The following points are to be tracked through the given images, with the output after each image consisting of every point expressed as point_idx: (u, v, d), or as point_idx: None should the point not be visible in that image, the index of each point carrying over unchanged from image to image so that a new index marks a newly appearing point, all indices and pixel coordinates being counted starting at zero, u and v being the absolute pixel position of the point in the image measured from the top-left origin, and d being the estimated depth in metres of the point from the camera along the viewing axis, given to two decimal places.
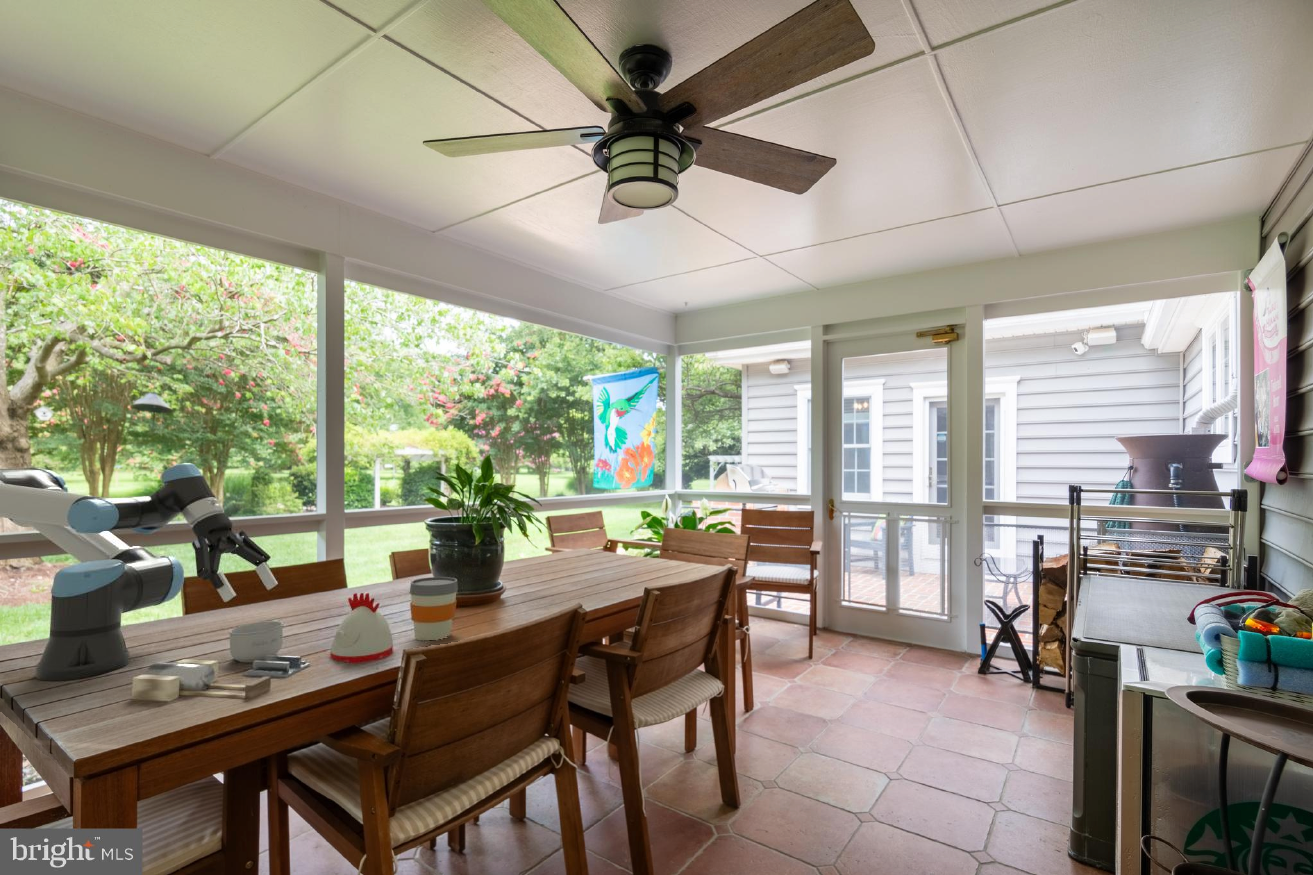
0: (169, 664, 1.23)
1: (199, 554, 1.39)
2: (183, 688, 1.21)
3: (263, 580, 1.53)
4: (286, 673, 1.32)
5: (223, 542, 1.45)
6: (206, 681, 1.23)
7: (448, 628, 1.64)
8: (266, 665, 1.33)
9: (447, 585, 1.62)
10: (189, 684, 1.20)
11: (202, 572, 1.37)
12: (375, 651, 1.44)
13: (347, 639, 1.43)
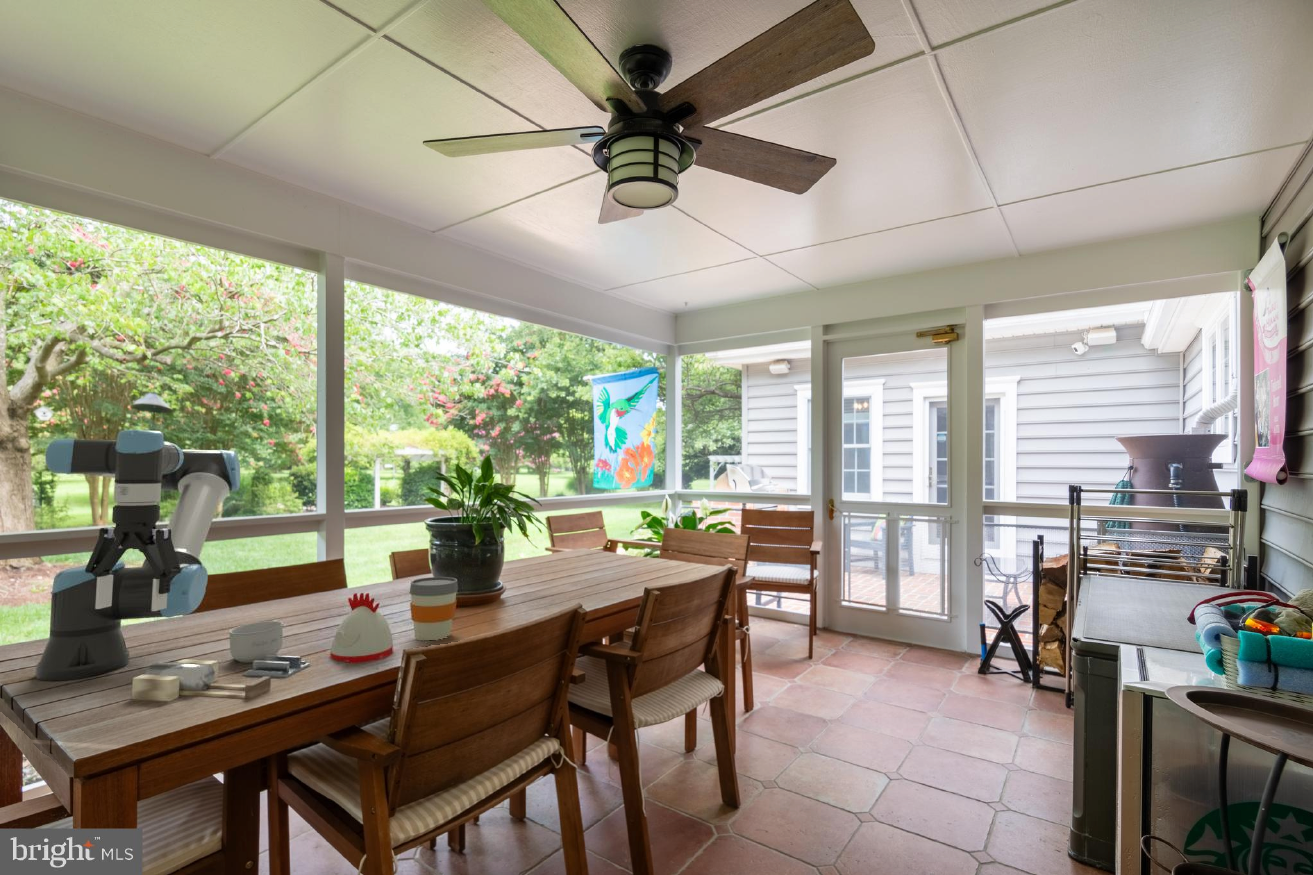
0: (169, 664, 1.23)
1: None
2: (183, 688, 1.21)
3: None
4: (286, 673, 1.32)
5: (118, 540, 1.24)
6: (206, 681, 1.23)
7: (448, 628, 1.64)
8: (266, 665, 1.33)
9: (447, 585, 1.62)
10: (190, 684, 1.20)
11: None
12: (375, 651, 1.44)
13: (347, 639, 1.43)
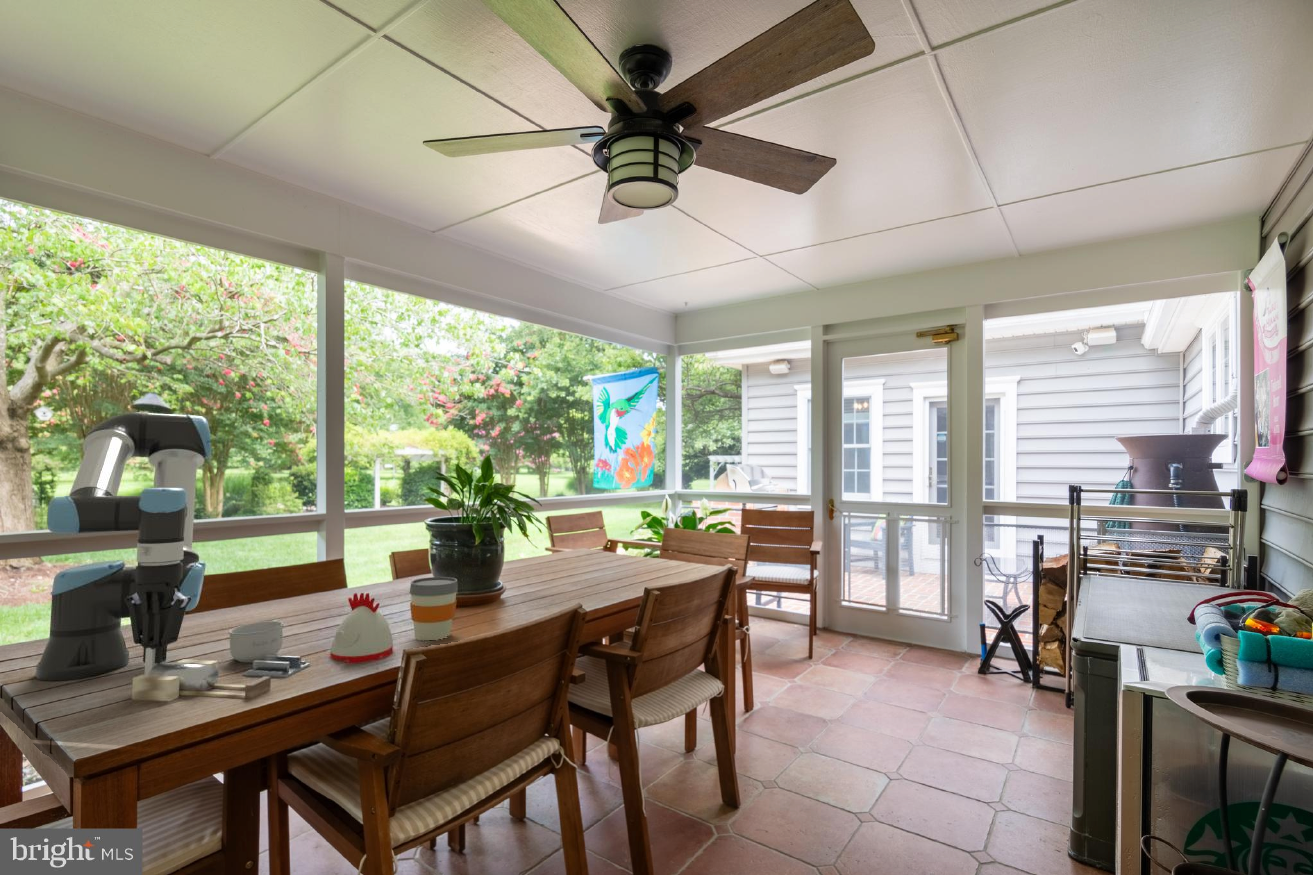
0: (173, 664, 1.23)
1: None
2: (187, 688, 1.21)
3: None
4: (286, 673, 1.32)
5: (145, 601, 1.22)
6: (210, 681, 1.23)
7: (448, 628, 1.64)
8: (266, 665, 1.33)
9: (447, 585, 1.62)
10: (193, 684, 1.20)
11: None
12: (375, 651, 1.44)
13: (347, 639, 1.43)
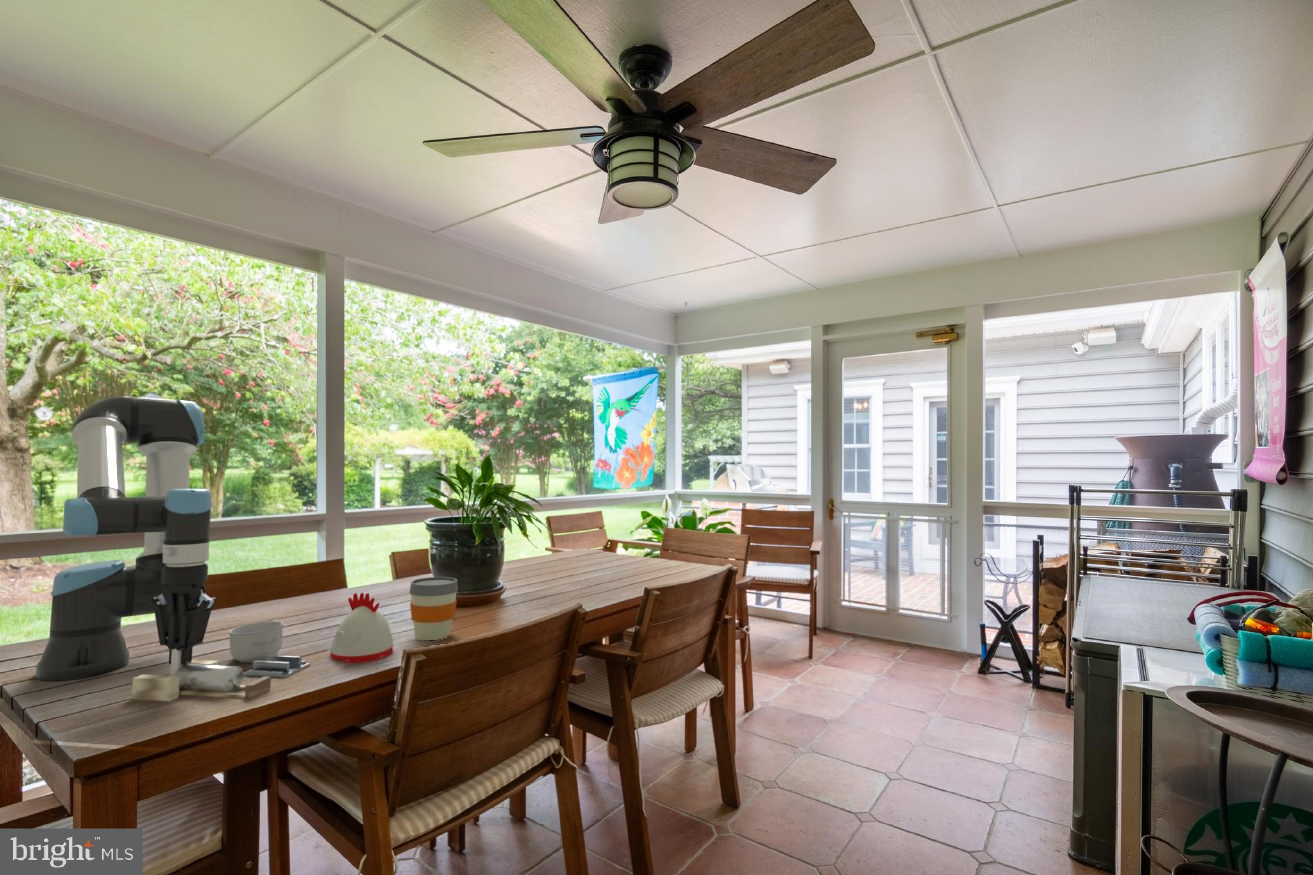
0: (199, 665, 1.23)
1: None
2: (212, 689, 1.20)
3: None
4: (286, 673, 1.32)
5: (171, 603, 1.22)
6: (235, 683, 1.22)
7: (448, 628, 1.64)
8: (266, 665, 1.33)
9: (447, 585, 1.62)
10: (219, 685, 1.20)
11: None
12: (375, 651, 1.44)
13: (347, 639, 1.43)
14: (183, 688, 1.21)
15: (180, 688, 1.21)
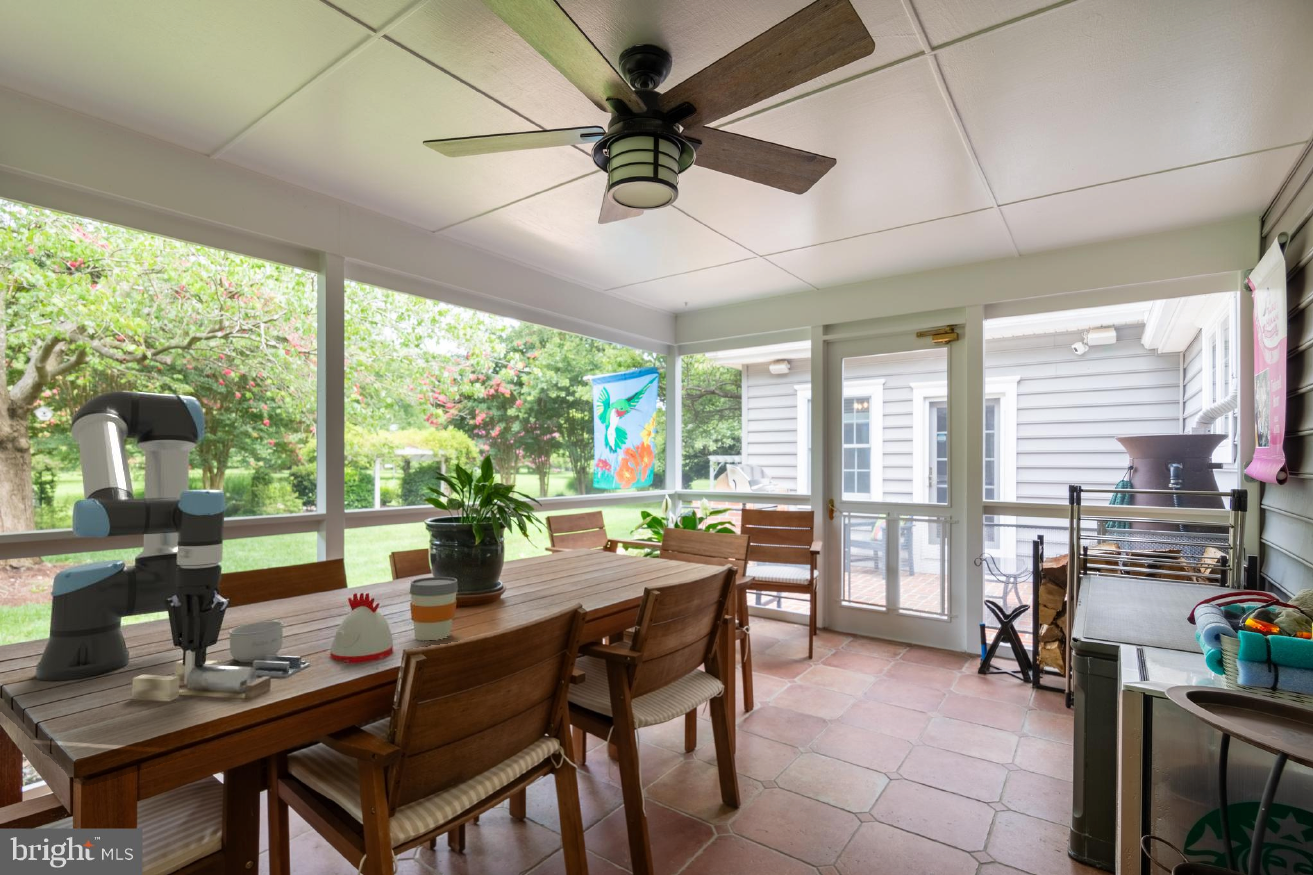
0: (213, 666, 1.23)
1: None
2: (226, 689, 1.20)
3: None
4: (286, 673, 1.32)
5: (185, 604, 1.22)
6: None
7: (448, 628, 1.64)
8: (266, 665, 1.33)
9: (447, 585, 1.62)
10: (233, 685, 1.19)
11: None
12: (375, 651, 1.44)
13: (347, 639, 1.43)
14: (196, 688, 1.21)
15: (193, 688, 1.21)
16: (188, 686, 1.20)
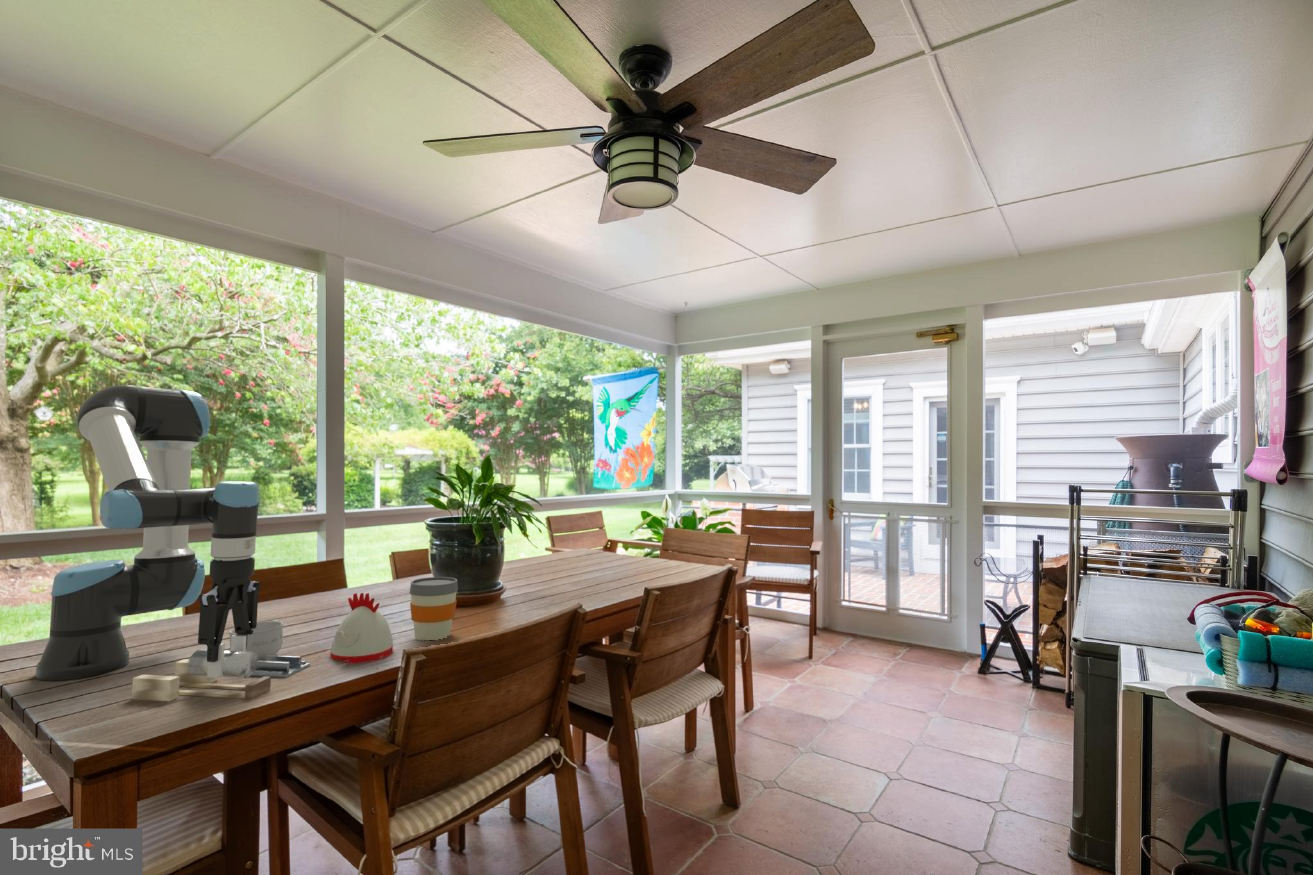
0: None
1: (205, 616, 1.17)
2: (227, 674, 1.20)
3: None
4: (286, 673, 1.32)
5: (233, 596, 1.22)
6: (250, 668, 1.23)
7: (448, 628, 1.64)
8: (266, 665, 1.33)
9: (447, 585, 1.62)
10: (234, 670, 1.20)
11: (205, 643, 1.17)
12: (375, 651, 1.44)
13: (347, 639, 1.43)
14: (198, 673, 1.21)
15: (195, 673, 1.21)
16: (190, 671, 1.21)
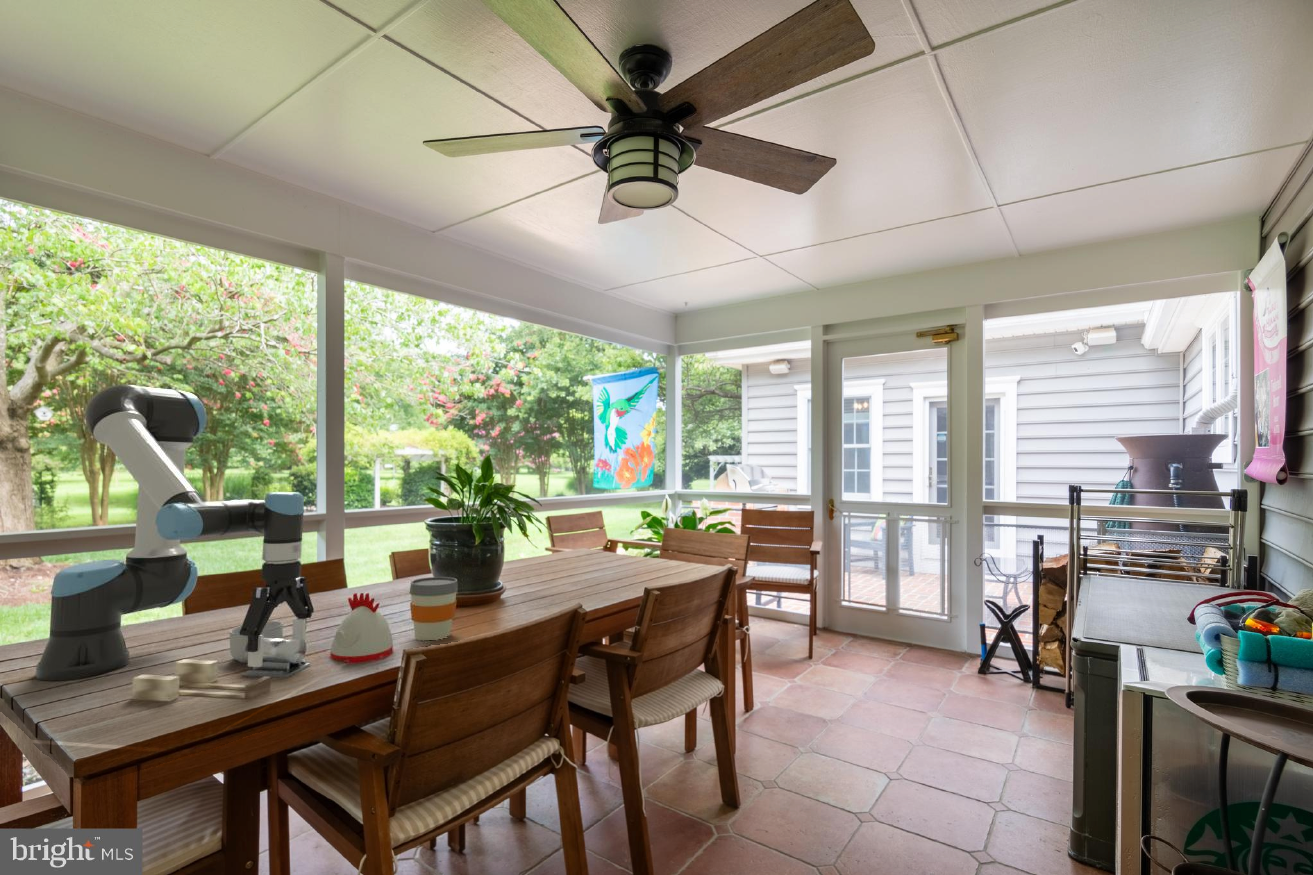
0: (267, 638, 1.35)
1: (254, 608, 1.28)
2: (280, 659, 1.33)
3: (293, 635, 1.42)
4: (286, 673, 1.32)
5: (281, 596, 1.34)
6: (300, 654, 1.35)
7: (448, 628, 1.64)
8: (266, 665, 1.33)
9: (447, 585, 1.62)
10: (287, 655, 1.32)
11: (246, 633, 1.25)
12: (375, 651, 1.44)
13: (347, 639, 1.43)
14: None
15: None
16: (246, 656, 1.33)
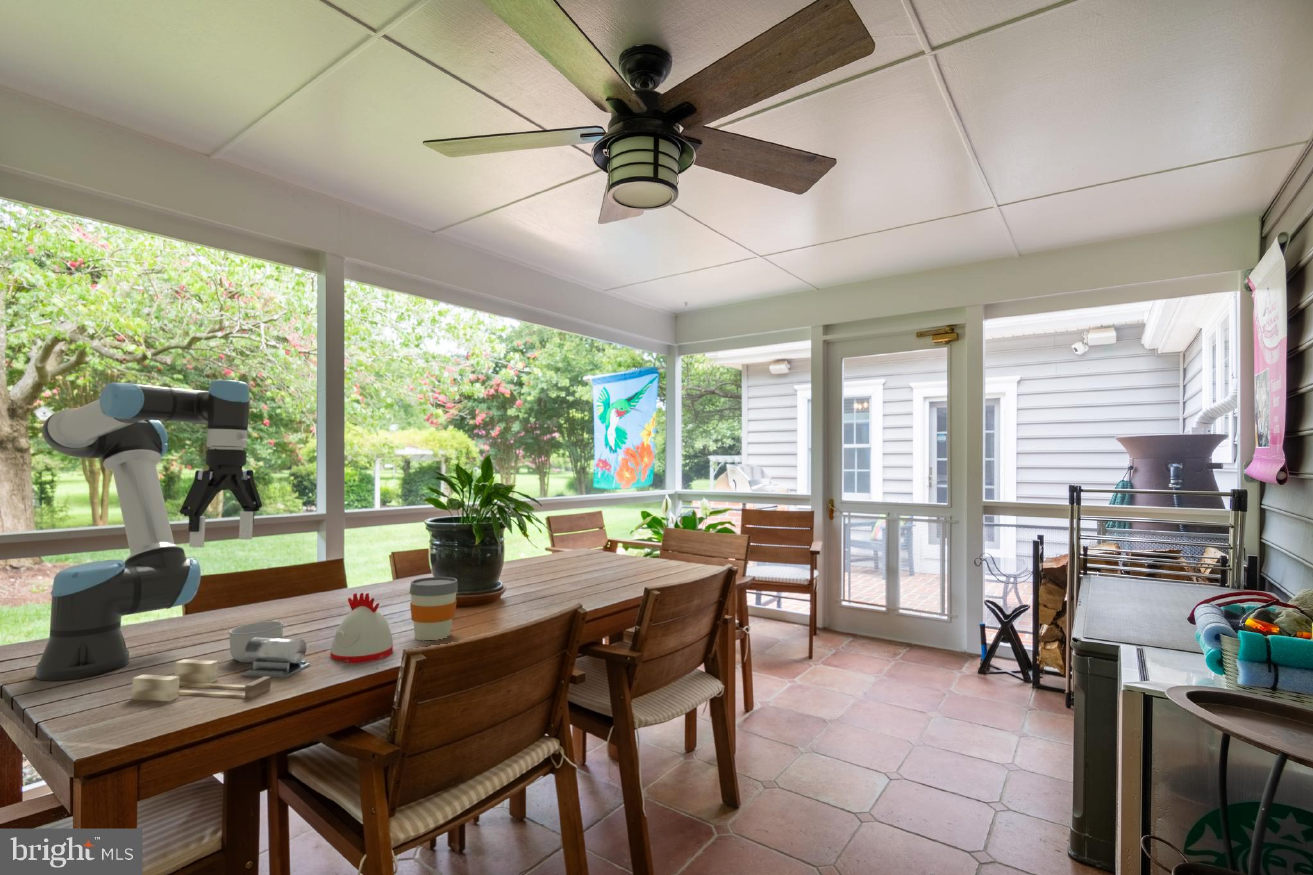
0: (267, 638, 1.35)
1: (195, 488, 1.28)
2: (280, 659, 1.33)
3: (240, 528, 1.42)
4: (286, 673, 1.32)
5: (225, 482, 1.34)
6: (300, 654, 1.35)
7: (448, 628, 1.64)
8: (266, 665, 1.33)
9: (447, 585, 1.62)
10: (287, 655, 1.32)
11: (186, 511, 1.26)
12: (375, 651, 1.44)
13: (347, 639, 1.43)
14: (253, 658, 1.33)
15: (250, 658, 1.34)
16: (246, 656, 1.33)
